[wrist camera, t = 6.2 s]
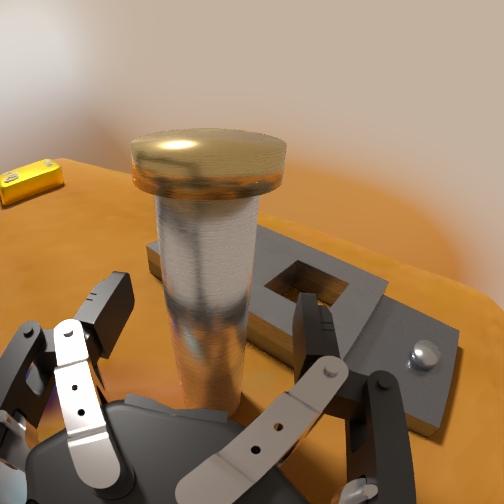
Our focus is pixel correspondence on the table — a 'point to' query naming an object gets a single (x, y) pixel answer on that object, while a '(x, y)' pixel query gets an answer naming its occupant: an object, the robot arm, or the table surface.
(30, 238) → the table surface
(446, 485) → the table surface
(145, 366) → the table surface
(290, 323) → the bolted metal bracket
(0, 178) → the element tile
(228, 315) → the pin
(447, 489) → the table surface
